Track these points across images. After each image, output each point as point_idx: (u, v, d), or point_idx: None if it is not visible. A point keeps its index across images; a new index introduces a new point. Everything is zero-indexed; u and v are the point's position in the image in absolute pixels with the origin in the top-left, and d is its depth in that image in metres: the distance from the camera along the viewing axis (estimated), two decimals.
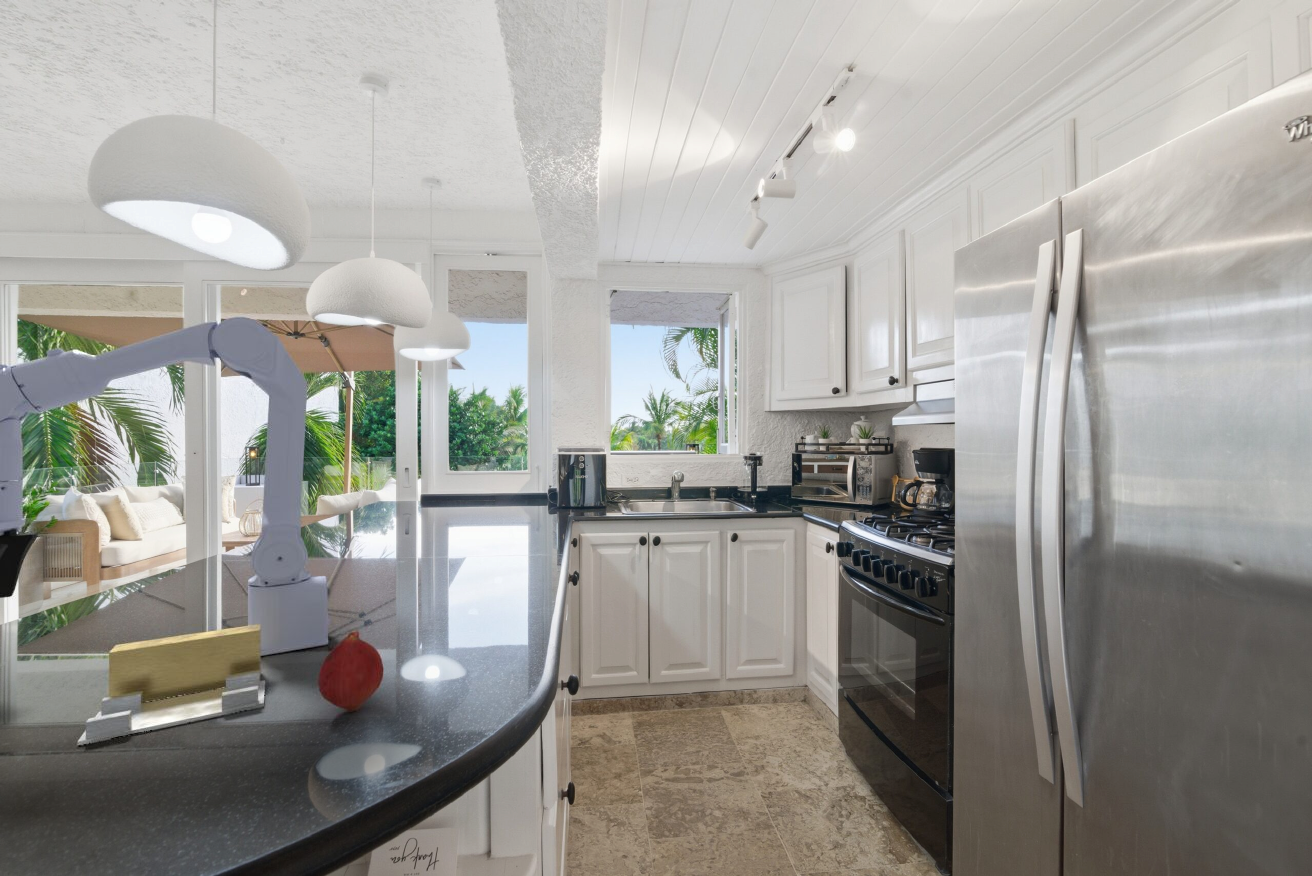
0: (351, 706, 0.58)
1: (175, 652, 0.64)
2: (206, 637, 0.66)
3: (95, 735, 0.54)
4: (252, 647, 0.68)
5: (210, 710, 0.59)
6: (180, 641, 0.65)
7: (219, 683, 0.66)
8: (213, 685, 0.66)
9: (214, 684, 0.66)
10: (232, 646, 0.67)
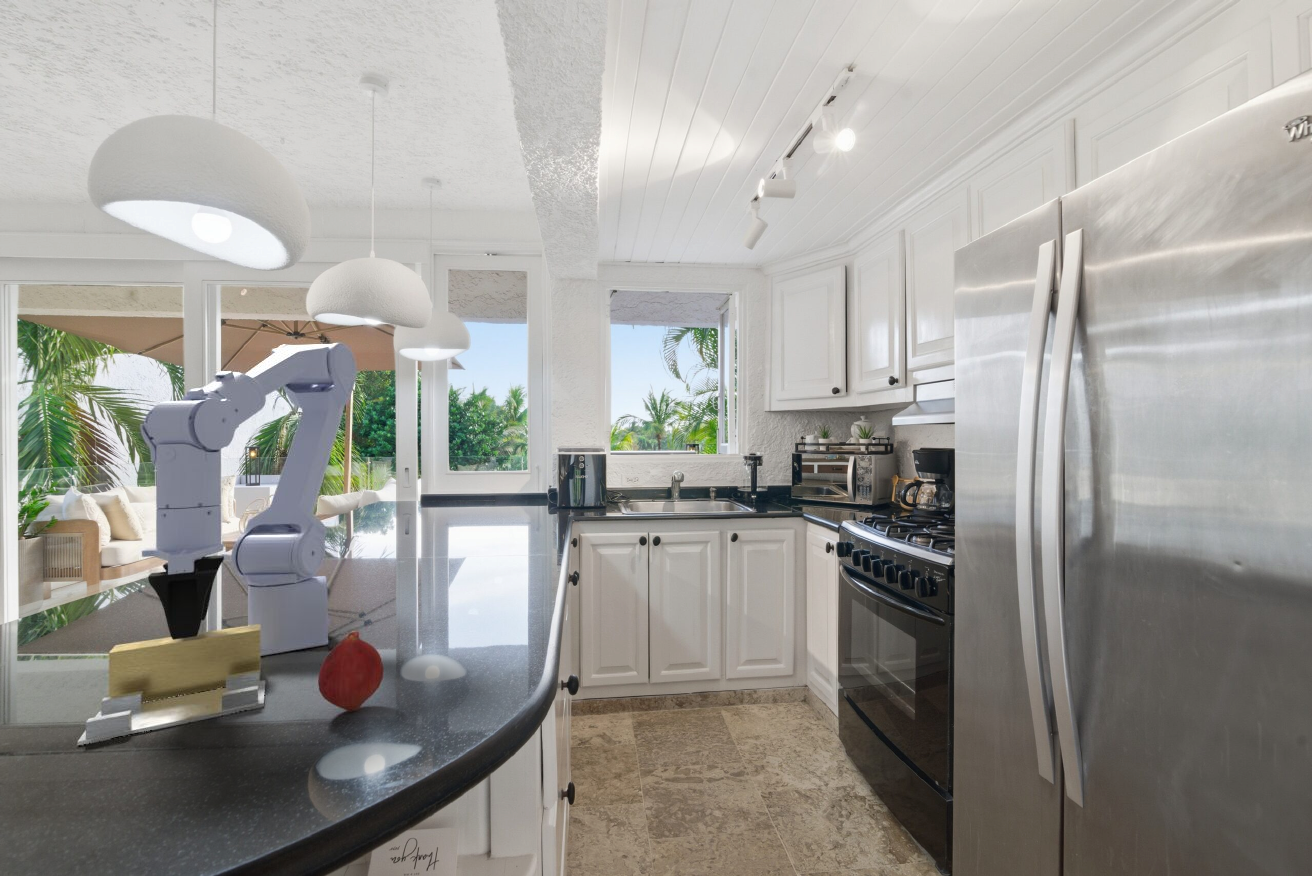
0: (351, 706, 0.58)
1: (175, 652, 0.64)
2: (206, 637, 0.66)
3: (95, 735, 0.54)
4: (253, 647, 0.68)
5: (210, 710, 0.59)
6: (180, 641, 0.65)
7: (219, 683, 0.66)
8: (213, 685, 0.66)
9: (214, 684, 0.66)
10: (232, 646, 0.67)
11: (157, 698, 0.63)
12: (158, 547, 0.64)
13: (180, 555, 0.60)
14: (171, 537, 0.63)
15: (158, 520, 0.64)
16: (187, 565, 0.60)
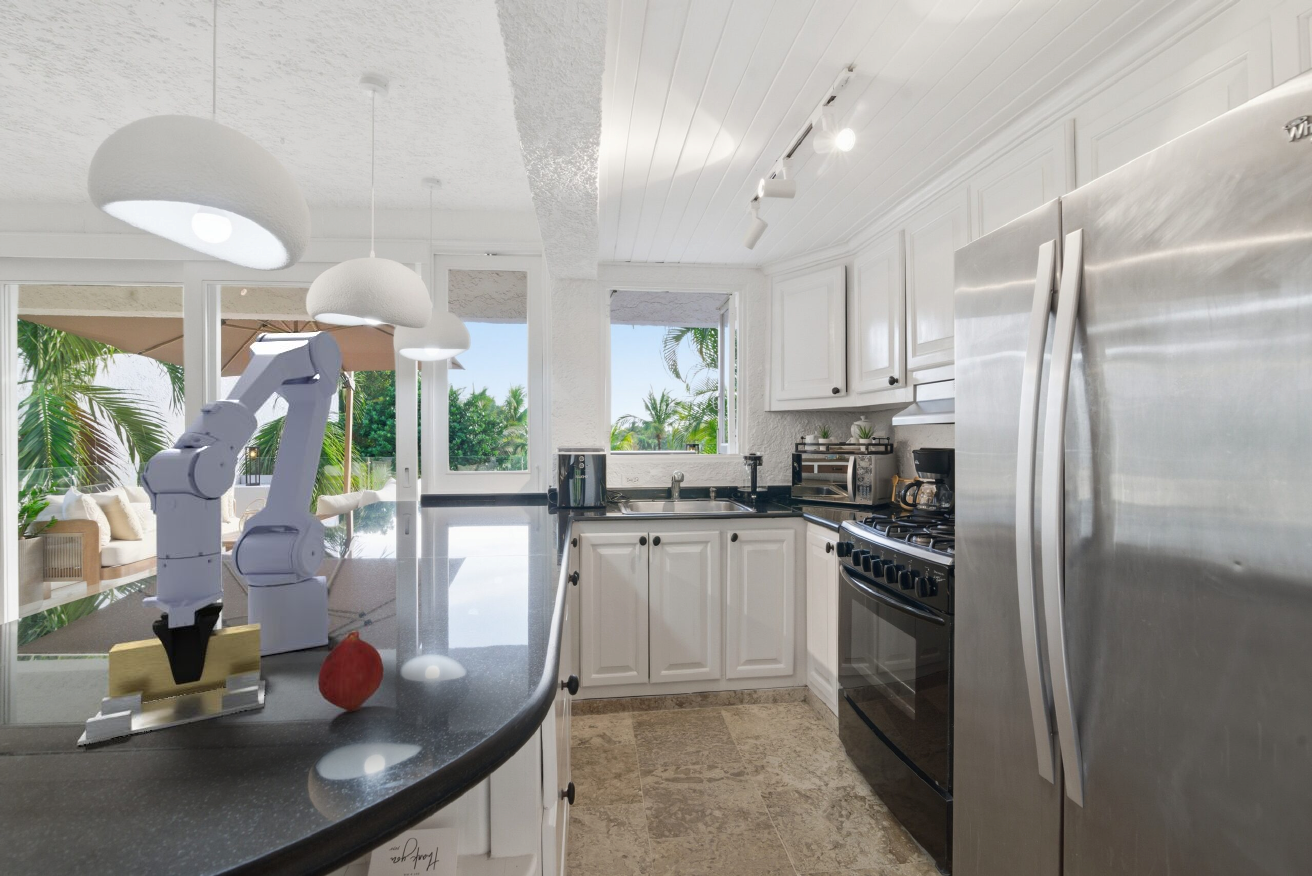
0: (351, 706, 0.58)
1: None
2: None
3: (95, 735, 0.54)
4: (252, 646, 0.68)
5: (210, 710, 0.59)
6: None
7: (219, 682, 0.66)
8: (213, 684, 0.66)
9: (214, 683, 0.66)
10: (232, 645, 0.67)
11: (157, 697, 0.63)
12: (158, 597, 0.64)
13: (180, 608, 0.60)
14: (172, 587, 0.63)
15: (158, 570, 0.64)
16: (188, 618, 0.60)
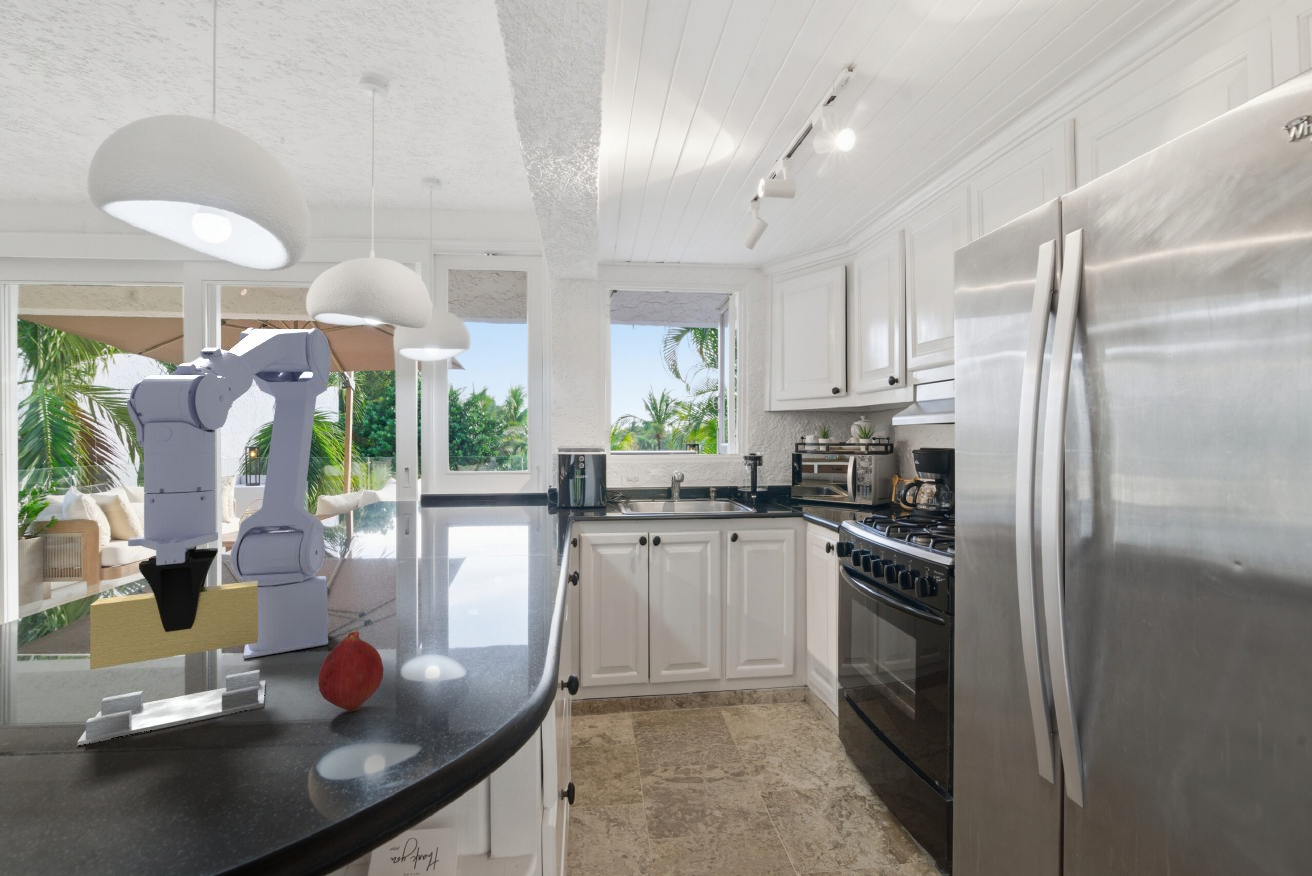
0: (351, 706, 0.58)
1: None
2: None
3: (95, 735, 0.54)
4: (249, 604, 0.62)
5: (210, 710, 0.59)
6: None
7: (212, 642, 0.60)
8: (206, 644, 0.60)
9: (207, 643, 0.60)
10: (227, 603, 0.61)
11: (144, 657, 0.57)
12: (146, 536, 0.58)
13: (170, 544, 0.54)
14: (160, 525, 0.58)
15: (146, 506, 0.58)
16: (177, 555, 0.55)
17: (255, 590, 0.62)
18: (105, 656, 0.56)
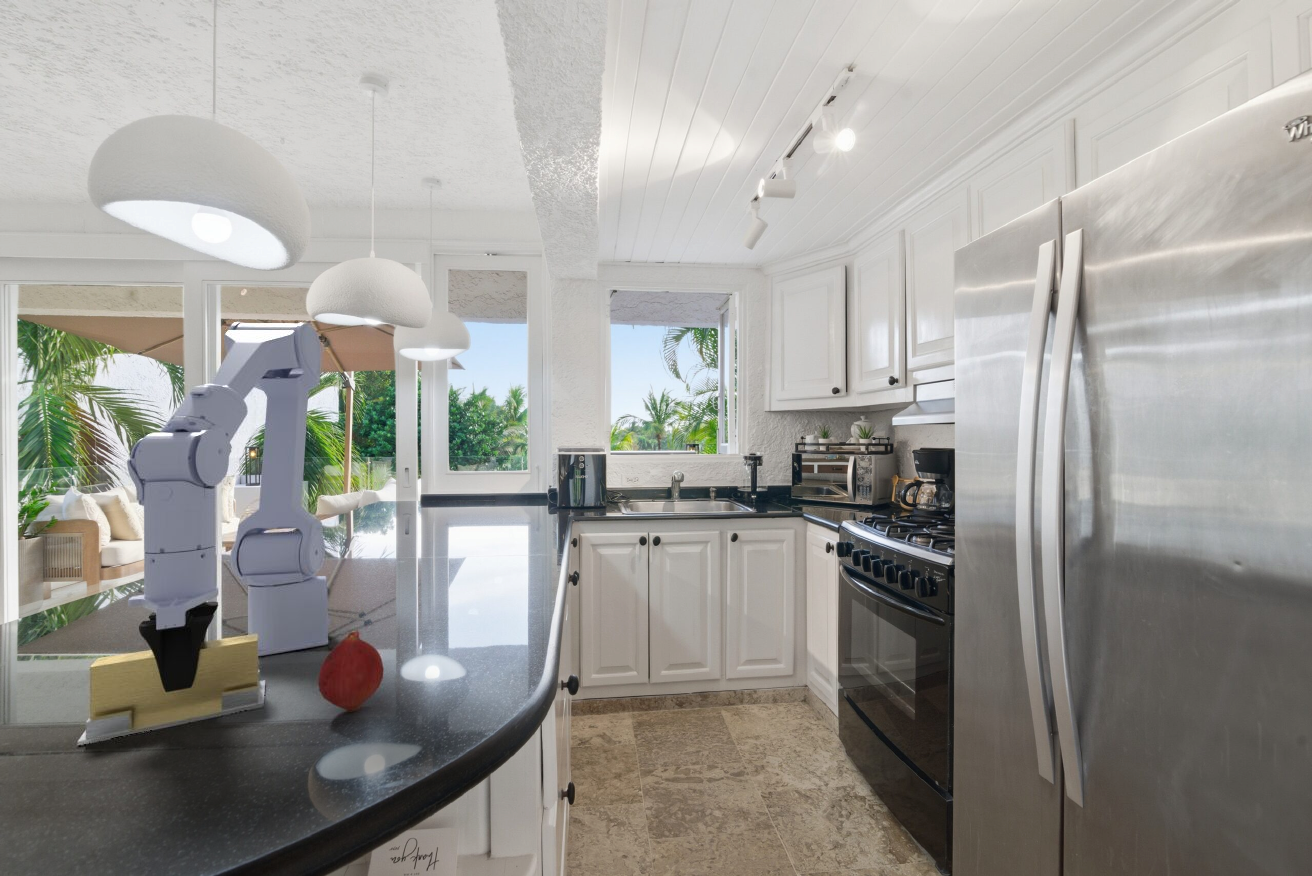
0: (351, 706, 0.58)
1: None
2: None
3: (95, 735, 0.54)
4: (249, 659, 0.62)
5: (210, 710, 0.59)
6: None
7: (212, 699, 0.60)
8: (206, 701, 0.60)
9: (207, 700, 0.60)
10: (227, 659, 0.61)
11: (144, 717, 0.57)
12: (146, 595, 0.58)
13: (170, 608, 0.54)
14: (161, 585, 0.57)
15: (146, 566, 0.58)
16: (178, 618, 0.54)
17: (255, 645, 0.62)
18: None
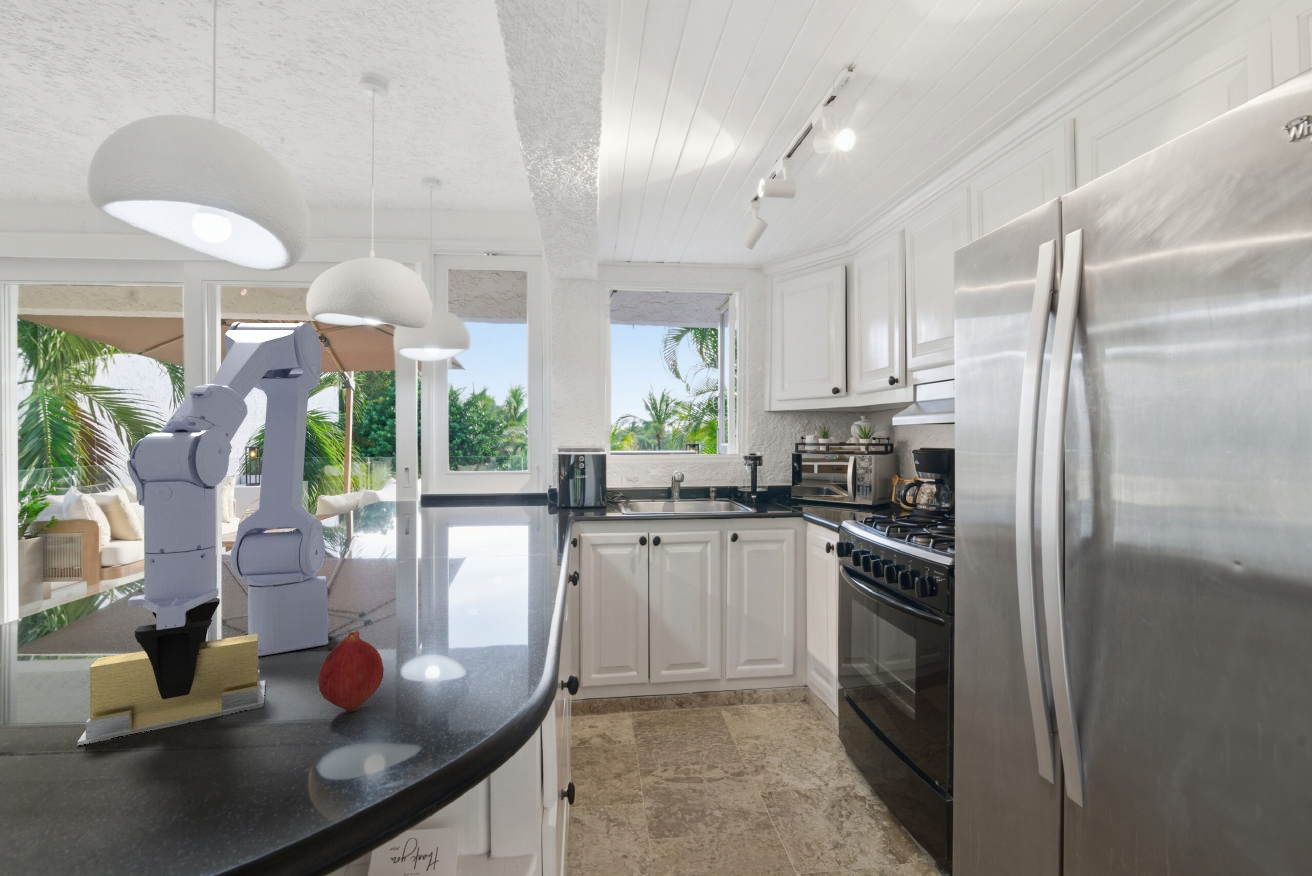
0: (351, 706, 0.58)
1: None
2: None
3: (95, 735, 0.54)
4: (249, 659, 0.62)
5: (210, 710, 0.59)
6: None
7: (212, 699, 0.60)
8: (206, 701, 0.60)
9: (207, 700, 0.60)
10: (227, 659, 0.61)
11: (144, 717, 0.57)
12: (146, 596, 0.58)
13: (170, 608, 0.54)
14: (161, 585, 0.57)
15: (146, 566, 0.58)
16: (178, 619, 0.54)
17: (255, 645, 0.62)
18: None
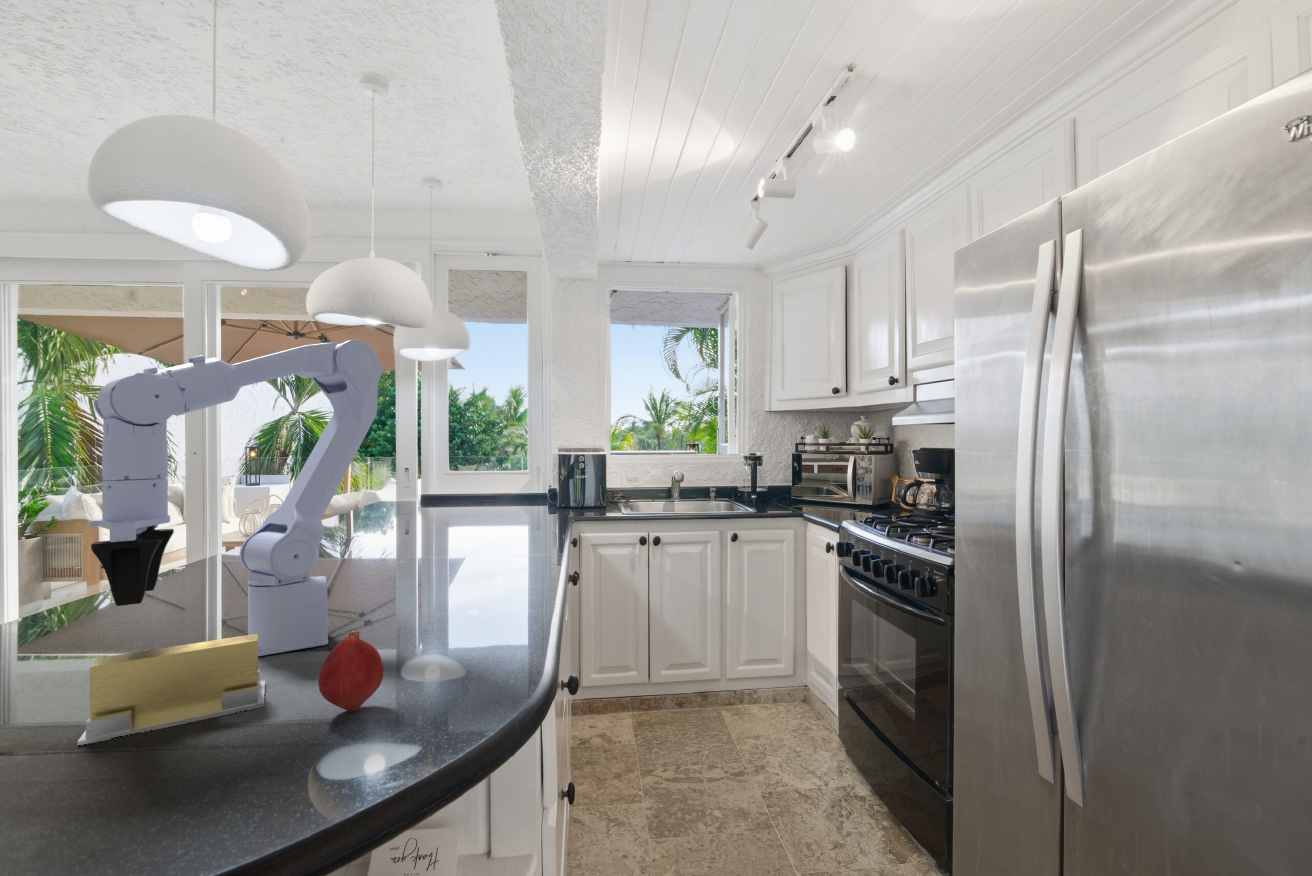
0: (351, 706, 0.58)
1: (164, 666, 0.58)
2: (198, 649, 0.60)
3: (95, 735, 0.54)
4: (249, 659, 0.62)
5: (210, 710, 0.59)
6: (169, 653, 0.59)
7: (212, 699, 0.60)
8: (206, 701, 0.60)
9: (207, 700, 0.60)
10: (227, 659, 0.61)
11: (144, 717, 0.57)
12: (103, 517, 0.66)
13: (122, 524, 0.62)
14: (116, 508, 0.66)
15: (103, 491, 0.66)
16: (129, 533, 0.63)
17: (255, 645, 0.62)
18: None
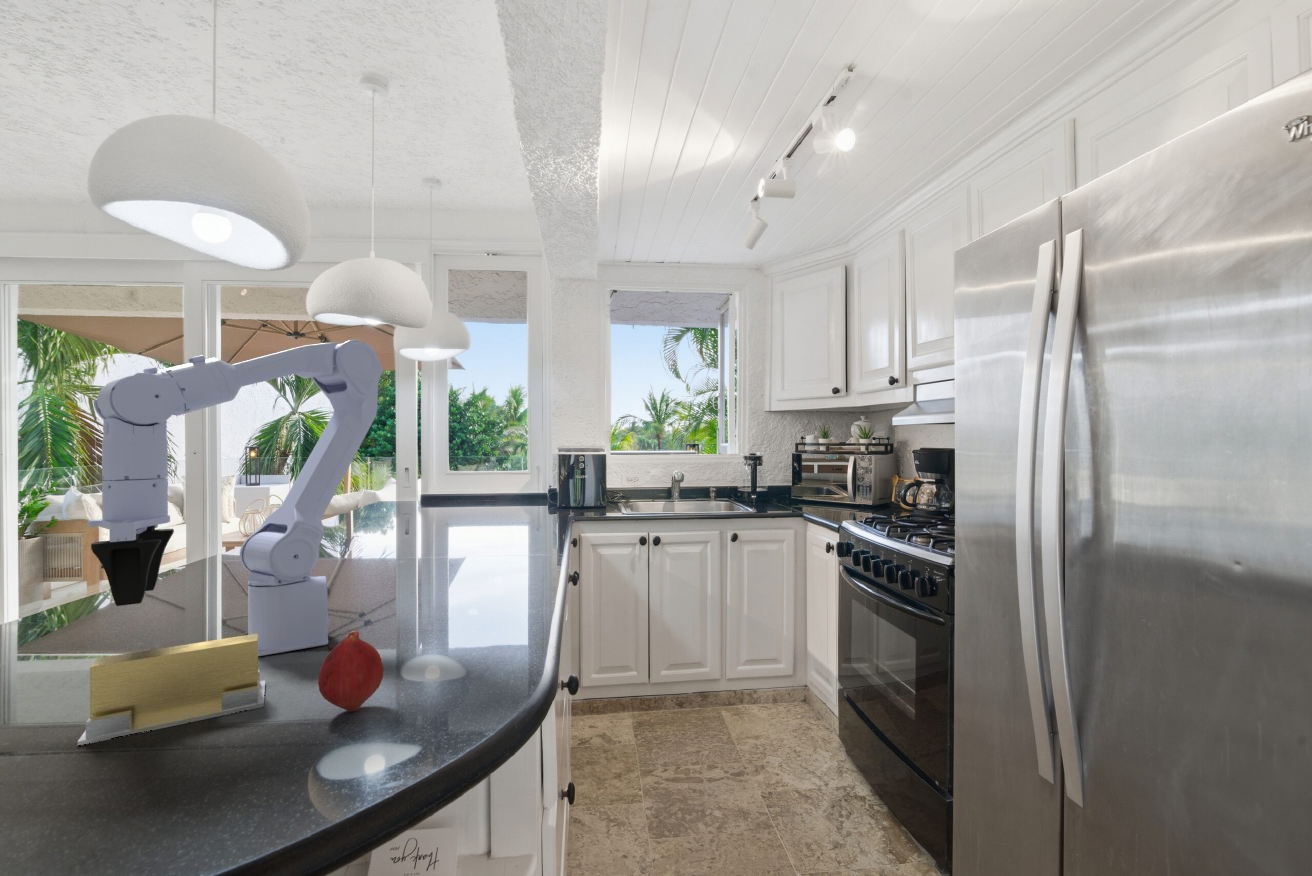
0: (351, 706, 0.58)
1: (164, 666, 0.58)
2: (198, 649, 0.60)
3: (95, 735, 0.54)
4: (249, 659, 0.62)
5: (210, 710, 0.59)
6: (169, 653, 0.59)
7: (212, 699, 0.60)
8: (206, 701, 0.60)
9: (207, 700, 0.60)
10: (227, 659, 0.61)
11: (144, 717, 0.57)
12: (103, 517, 0.66)
13: (122, 524, 0.62)
14: (116, 508, 0.66)
15: (103, 491, 0.66)
16: (129, 533, 0.63)
17: (255, 645, 0.62)
18: None
